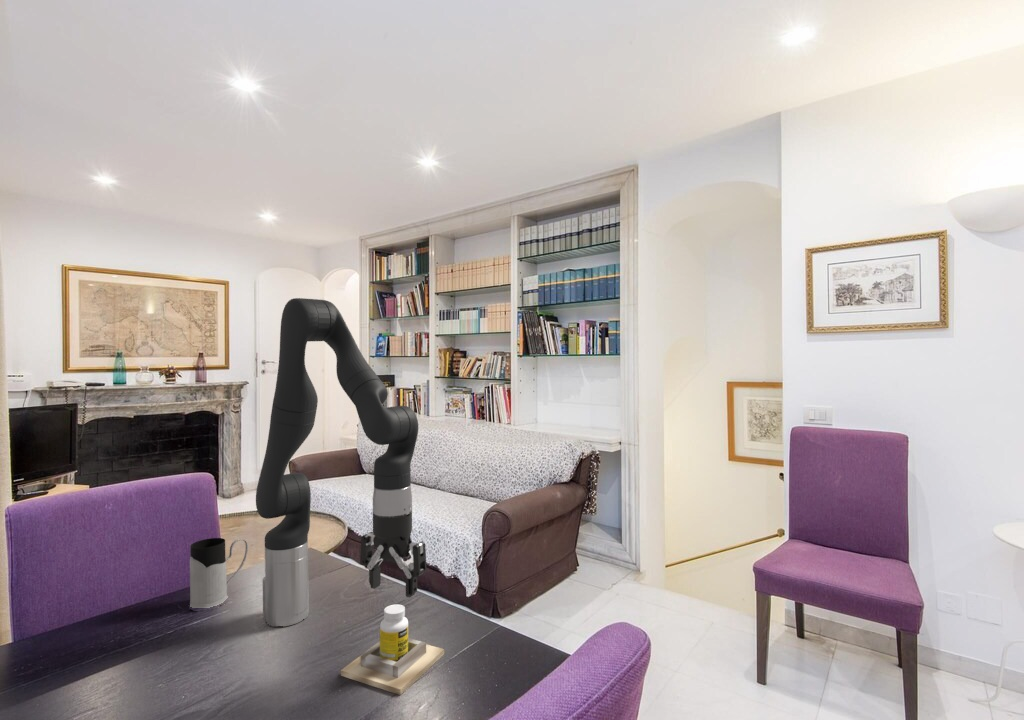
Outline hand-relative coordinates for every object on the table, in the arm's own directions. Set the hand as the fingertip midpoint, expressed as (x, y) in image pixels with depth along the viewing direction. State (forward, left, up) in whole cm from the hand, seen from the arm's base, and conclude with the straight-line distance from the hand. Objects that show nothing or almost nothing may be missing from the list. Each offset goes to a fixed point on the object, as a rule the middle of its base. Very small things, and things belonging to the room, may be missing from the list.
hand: (392, 591), depth 100 cm
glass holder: (-59, +5, -14) cm, 61 cm away
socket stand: (0, 0, -14) cm, 14 cm away
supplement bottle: (0, 0, -13) cm, 13 cm away
